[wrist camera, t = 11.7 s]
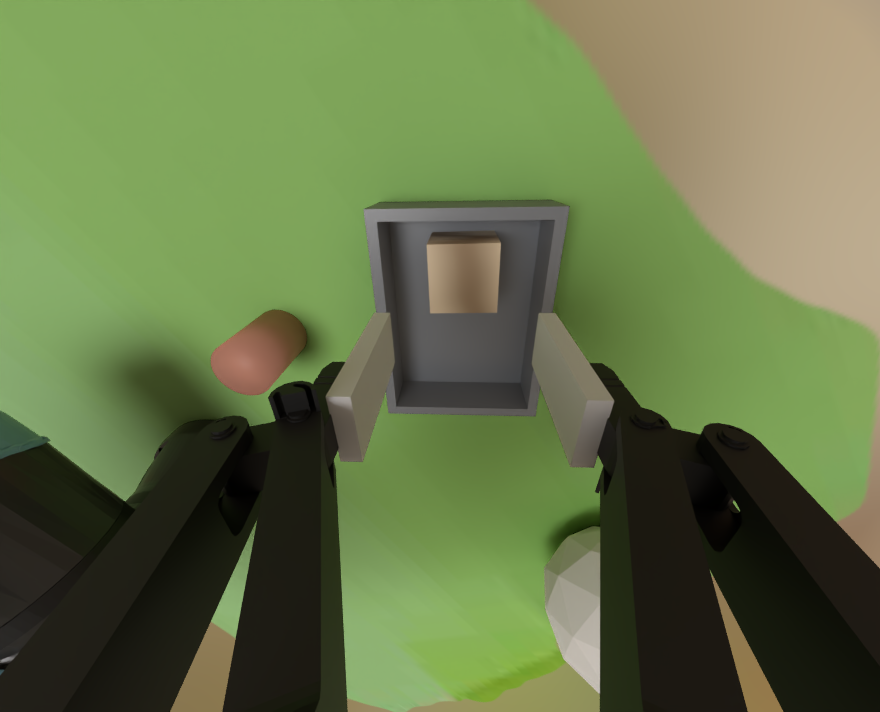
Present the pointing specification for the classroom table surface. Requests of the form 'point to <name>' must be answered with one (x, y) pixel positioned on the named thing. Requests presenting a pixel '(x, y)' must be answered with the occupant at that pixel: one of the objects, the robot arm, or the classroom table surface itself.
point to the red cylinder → (259, 352)
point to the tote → (465, 334)
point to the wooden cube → (463, 271)
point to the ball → (576, 601)
